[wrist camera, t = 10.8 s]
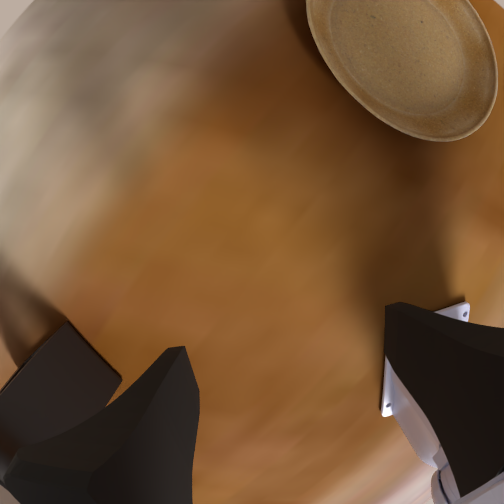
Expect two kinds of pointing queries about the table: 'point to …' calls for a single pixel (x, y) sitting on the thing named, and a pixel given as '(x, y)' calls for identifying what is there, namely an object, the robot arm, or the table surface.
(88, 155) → the table surface
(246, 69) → the table surface
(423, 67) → the plant saucer
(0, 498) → the cylinder vase
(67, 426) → the phone stand
